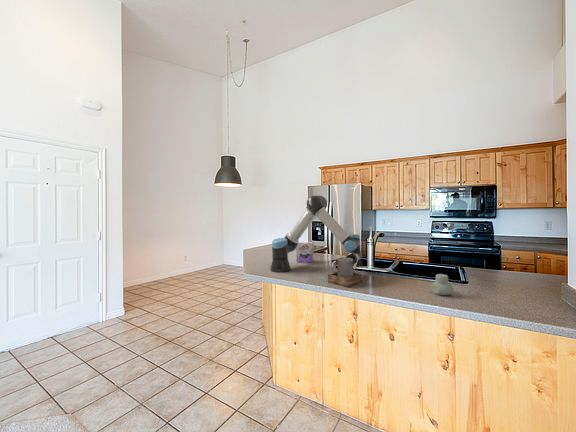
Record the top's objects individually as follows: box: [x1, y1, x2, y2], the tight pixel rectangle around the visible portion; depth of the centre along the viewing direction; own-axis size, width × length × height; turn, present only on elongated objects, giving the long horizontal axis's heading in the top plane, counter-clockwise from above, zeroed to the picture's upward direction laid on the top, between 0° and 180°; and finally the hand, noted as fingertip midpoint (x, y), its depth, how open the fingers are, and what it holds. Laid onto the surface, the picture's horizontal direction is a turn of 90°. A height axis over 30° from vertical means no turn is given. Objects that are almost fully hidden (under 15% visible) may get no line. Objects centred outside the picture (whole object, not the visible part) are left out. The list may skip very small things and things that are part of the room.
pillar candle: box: [336, 257, 354, 279], centre depth 171 cm, size 10×10×15 cm
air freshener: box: [430, 273, 455, 296], centre depth 146 cm, size 11×8×10 cm
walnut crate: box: [327, 271, 363, 288], centre depth 171 cm, size 15×15×5 cm
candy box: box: [295, 241, 314, 263], centre depth 231 cm, size 14×6×16 cm, turn 80°
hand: (343, 266), depth 168 cm, fingers open, 13 cm apart
